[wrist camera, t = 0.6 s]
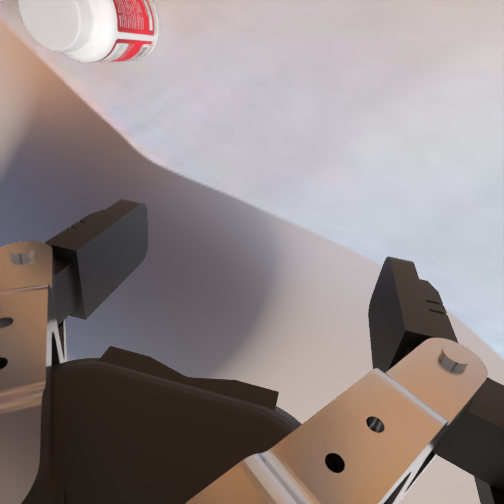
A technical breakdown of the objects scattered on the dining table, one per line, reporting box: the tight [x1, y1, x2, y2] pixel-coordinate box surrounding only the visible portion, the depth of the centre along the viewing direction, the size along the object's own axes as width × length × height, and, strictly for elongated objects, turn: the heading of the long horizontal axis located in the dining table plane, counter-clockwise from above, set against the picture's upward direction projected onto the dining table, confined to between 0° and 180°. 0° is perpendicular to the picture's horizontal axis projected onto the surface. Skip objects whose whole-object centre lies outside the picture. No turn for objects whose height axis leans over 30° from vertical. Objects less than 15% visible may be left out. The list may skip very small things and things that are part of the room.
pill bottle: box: [18, 0, 159, 63], centre depth 29 cm, size 6×6×11 cm
